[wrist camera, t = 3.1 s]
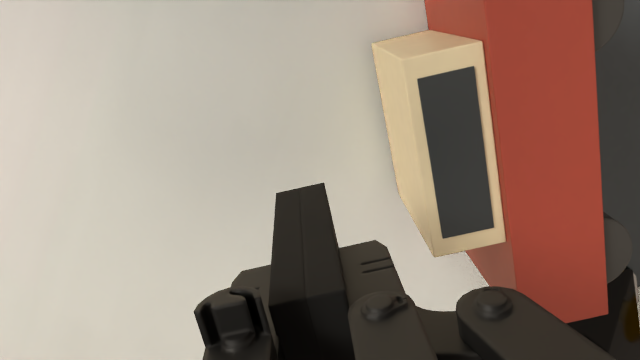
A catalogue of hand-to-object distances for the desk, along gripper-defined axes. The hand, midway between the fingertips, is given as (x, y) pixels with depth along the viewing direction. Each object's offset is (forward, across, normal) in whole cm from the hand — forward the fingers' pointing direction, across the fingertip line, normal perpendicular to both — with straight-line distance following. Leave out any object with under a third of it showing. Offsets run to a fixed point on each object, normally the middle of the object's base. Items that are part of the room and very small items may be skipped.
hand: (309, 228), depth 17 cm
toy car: (+8, +8, 0) cm, 11 cm away
